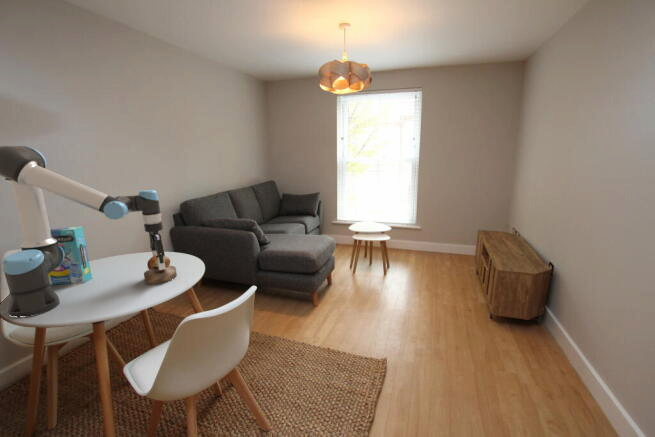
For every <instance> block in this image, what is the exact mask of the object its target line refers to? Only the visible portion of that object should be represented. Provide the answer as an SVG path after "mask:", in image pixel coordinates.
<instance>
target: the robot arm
mask: <svg viewBox="0 0 655 437" xmlns="http://www.w3.org/2000/svg"><path fill="white" fill-rule="evenodd" d="M0 177H2V178H4V180H5V182H6V183H9V184H10V185H11V186H12V190H13V195H14V199H15V203H16V208H17V212H18V216H19V221H20V226H21V230H22V234H23V239H24V242H22V243H21V245H20V247H21V250H20V251H16V252H15V253H11V254H9V255H7V256H6V257H4V258H3V259H2V263H1V264H2V271H3V272H4V273H3V274H4V277H5V280H6V283H7V287H8V292H9V294H10V298H9V299H10V300H9V304H8V309H7V312H8V316H9V315H11V316H17V317H20V316H30V317H32V316H31V315H34V316H37V315H36V314H38V315H40V313H41V314H43V312H44V313H47V312H49V311H51V310H53V309H55V308H56V307H57V306H59V305H60V303H61V301H60V298H59V296H58V294H57V293H56V291H55V290H54V289H53V288H52V285H50V283H49V278H48V274H49V273H50V272H51V271H53V270H54V269H56V268H57V267H59V266H60V264H61V263H62V262H63V260H64V257H65V253H64V250H63V249H62V247H60V246H59V245H58V242H57V240H56V239H54V238H52V235H51V230H50V228H51V227H50V222H49V217H48V216H49V215H48V212H47V207H46V202H45V198H44V197H45V196H44V193H43V190H44V191H46V192H48V193H51V194H53V195H56V196H59V197H61V198H64V199H66V200H70V201H71V202H74V203H76V204H80V205H82V206H84V207H87V208H89V209H92V210H94V211H98V212H100V213H101V214H104V215H105V217H107V219H110V220H114V221H116V220H119V219H123V218H124V217H126V215H128V214H129V213H134V212H141V214H142V221H143V222H142V223H144V224H143V227H144V232H147V233H148V234H149V235H148V237H149V245H150V247H149V249H151V254H152V257H153V256H154V255H158V256H156V258H157V259H158V266H159V270H162V269H166V267H165V261H164V256H166V254H165V250H164V245H163V242H162V235H161V234H160V233H159V231H162V230H164V229H163V222H162V216H163V214H162V213H161V209H160V208H161V207H160V198H159V194H158V191H157V190H155V189H145V190H144V189H143V190H140V191H139V192H138V194H136V195H122V196H120V195H118V196H111V195H108V194H107V193H105V192H101V191H99V190H97V189H95V188H92V187H89V186H88V185H85V184H83V183H80V182H78V181H75V180H73V179H70V178H68V177H66V176H64V175H62V174H59V173H56V172H54V171H51V170H49V169H47V160H46V158H45V155H43V153H41V152H40V151H39V150H37V149H35V148H34V147H28V146H27V145H24V146H22V145H1V146H0Z"/></svg>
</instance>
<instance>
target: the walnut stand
mask: <svg viewBox="0 0 655 437" xmlns="http://www.w3.org/2000/svg"><path fill="white" fill-rule="evenodd" d="M176 276H178V273H177V267H176V266H173V265H169V266H168V267H167V268H166V269H162V270H149V269H147V270H146V271H144V272H143V278H144V282H145V284H148V285H152V286H153V285H162V284H165V282H166V283H169V282H172V281H173V280H175V279H176V278H177V277H176ZM175 277H176V278H175ZM174 278H175V279H174ZM172 279H173V280H172ZM168 281H169V282H168Z"/></svg>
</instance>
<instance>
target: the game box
mask: <svg viewBox="0 0 655 437" xmlns="http://www.w3.org/2000/svg"><path fill="white" fill-rule="evenodd" d="M50 230H51V235H52V238H54V239H56V240H57V242H58V245H59V246H60V247H62V249H63V250H64V253H65V257H64V260H63V262H62V263H61V264H60V266H59V267H57V268H56V269H54V270H53V271H51V272H50V273H49V274H48V278H49V283H50V286H52V285H68V284H70V285H71V284H85V283H87V282H89V281H91V280H92V279H93V274H92V272H91V265H90V260H89V255H88V250H87V244H86V240H85V234H84V228H83V226H67V227H66V226H65V227H63V226H62V227H60V226H59V227H50Z"/></svg>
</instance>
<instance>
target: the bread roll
mask: <svg viewBox="0 0 655 437" xmlns="http://www.w3.org/2000/svg"><path fill="white" fill-rule="evenodd" d="M156 256H158V255H154V256H153V255H152V257H150V258H149V259H148V261H147V270H159V266H158V259H157V258H156ZM164 261H165V267H166V268H167V267H168V266H171V259H170V257H168V256H167V255H165V256H164Z"/></svg>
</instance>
